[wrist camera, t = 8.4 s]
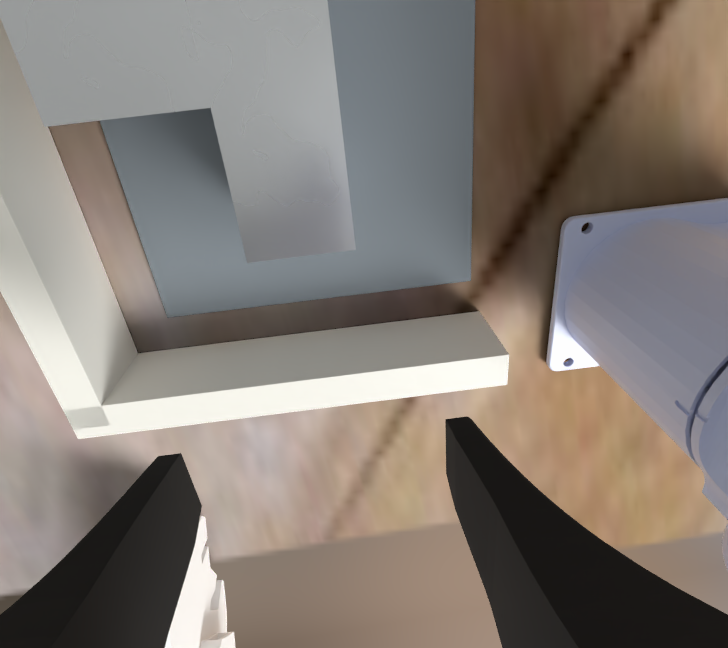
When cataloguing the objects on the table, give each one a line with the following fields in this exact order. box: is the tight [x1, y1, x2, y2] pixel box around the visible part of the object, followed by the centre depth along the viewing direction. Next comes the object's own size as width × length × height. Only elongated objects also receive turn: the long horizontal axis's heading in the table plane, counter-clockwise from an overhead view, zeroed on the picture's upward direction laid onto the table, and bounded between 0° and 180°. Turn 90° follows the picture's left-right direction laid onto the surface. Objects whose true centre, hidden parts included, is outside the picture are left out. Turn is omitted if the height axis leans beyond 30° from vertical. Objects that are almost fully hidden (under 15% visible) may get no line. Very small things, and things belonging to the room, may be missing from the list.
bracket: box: [0, 0, 356, 263], centre depth 15 cm, size 8×8×5 cm
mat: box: [100, 0, 475, 318], centre depth 18 cm, size 14×12×1 cm
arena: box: [0, 18, 509, 439], centre depth 16 cm, size 18×18×4 cm
